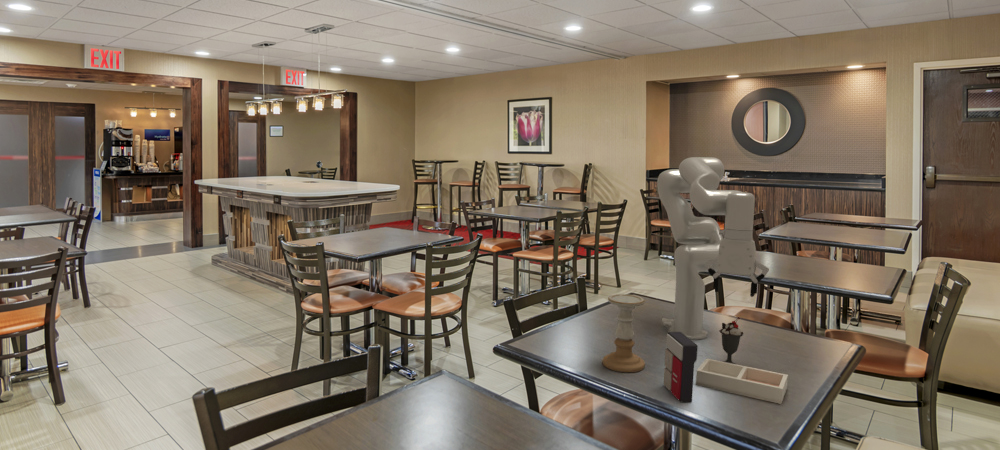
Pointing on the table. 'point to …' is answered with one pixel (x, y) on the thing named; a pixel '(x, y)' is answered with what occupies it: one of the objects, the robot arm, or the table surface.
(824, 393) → the table surface
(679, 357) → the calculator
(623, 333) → the candle holder
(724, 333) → the sundae
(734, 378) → the carrier tray
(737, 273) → the robot arm
